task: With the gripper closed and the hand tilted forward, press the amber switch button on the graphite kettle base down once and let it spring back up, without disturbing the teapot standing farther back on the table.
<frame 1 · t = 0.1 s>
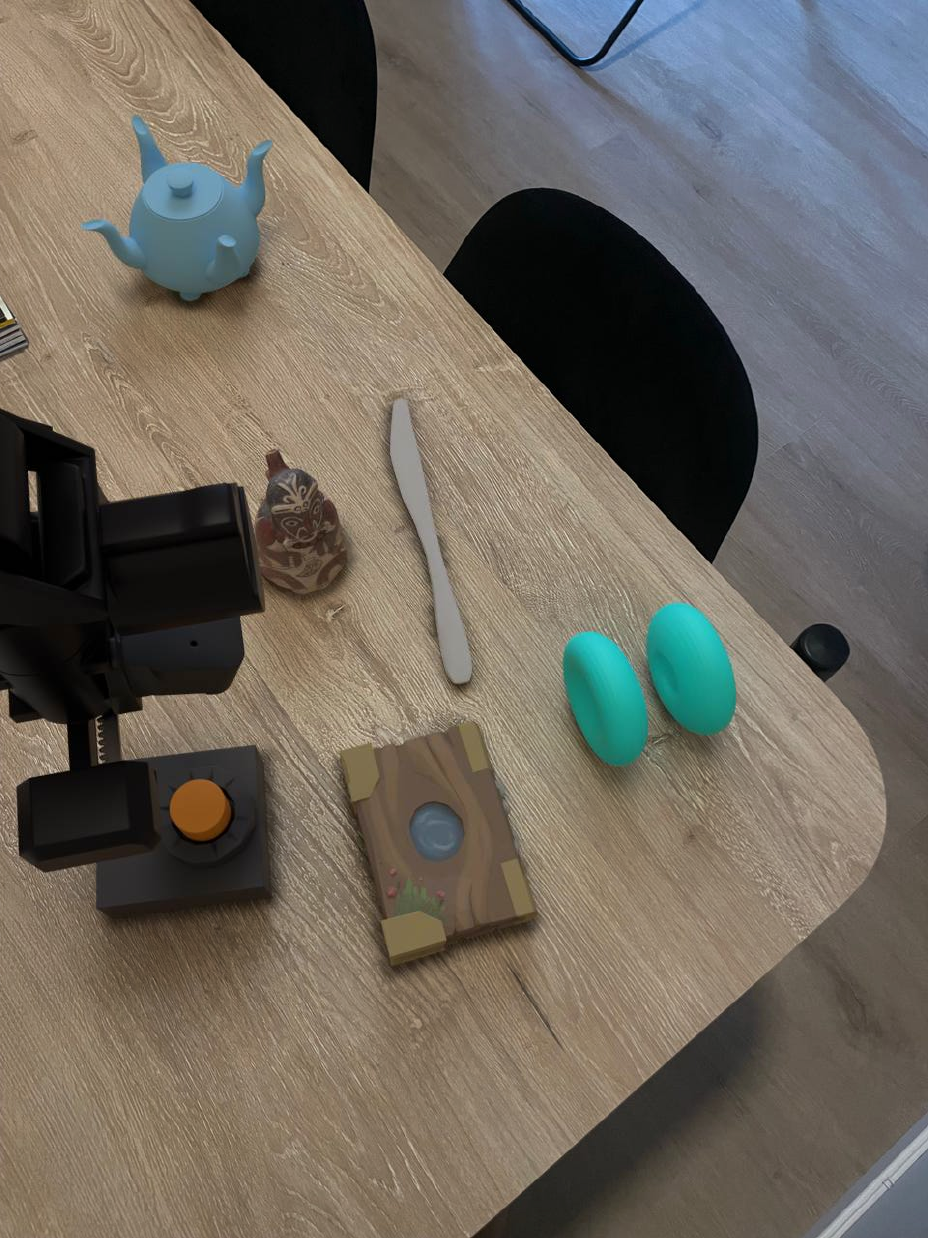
hand: (122, 730, 62), 18 cm above the table, tool pointing down, fingers open, 9 cm apart
teapot: (200, 265, 99), on the table
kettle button: (200, 810, 71), point 7 cm above the table, slide at 0.1 cm
donuts: (634, 708, 83), on the table
butter knife: (424, 535, 88), on the table
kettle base: (190, 838, 77), on the table
book: (439, 843, 78), on the table
figurine: (302, 555, 87), on the table
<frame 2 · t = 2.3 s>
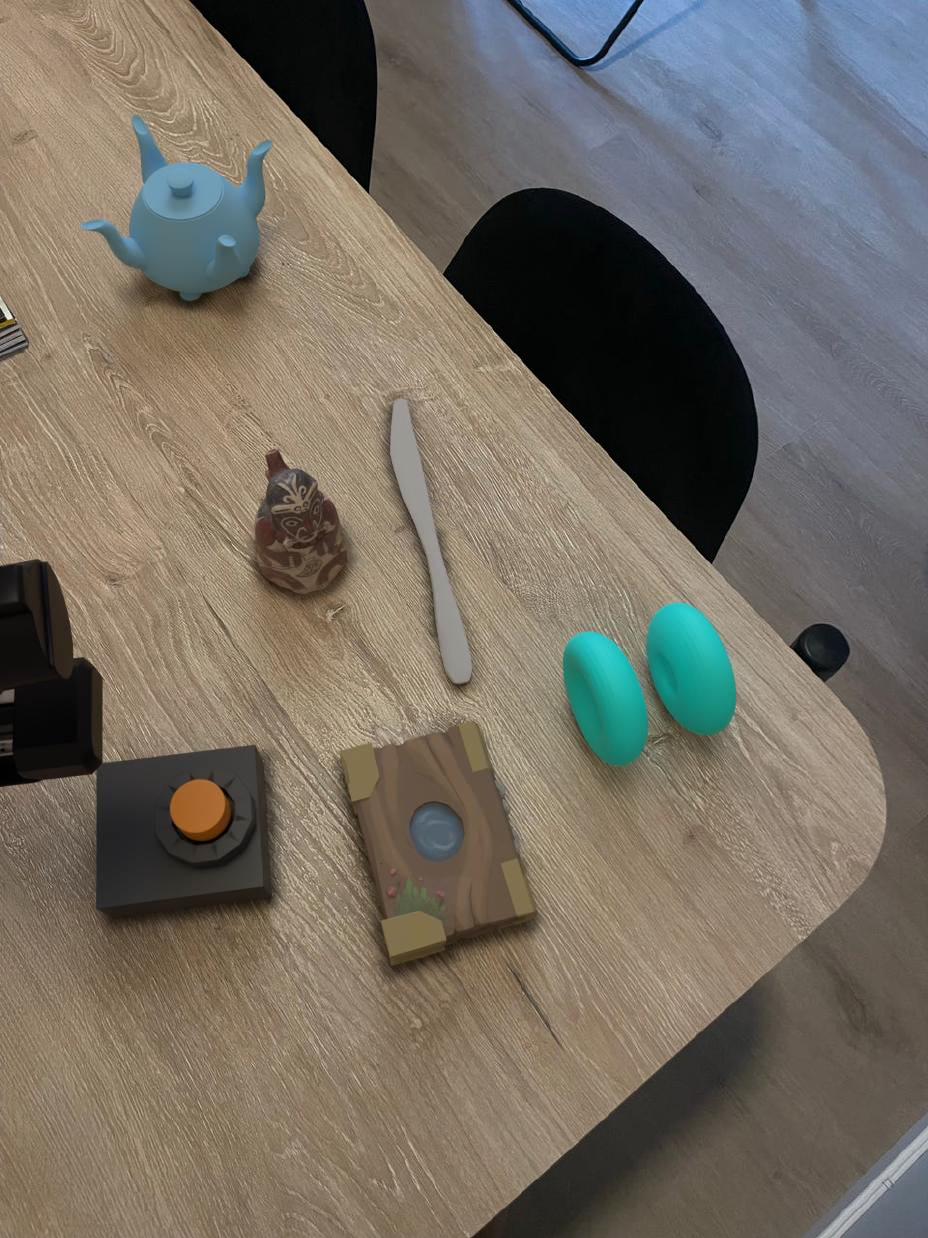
nothing on the table moved.
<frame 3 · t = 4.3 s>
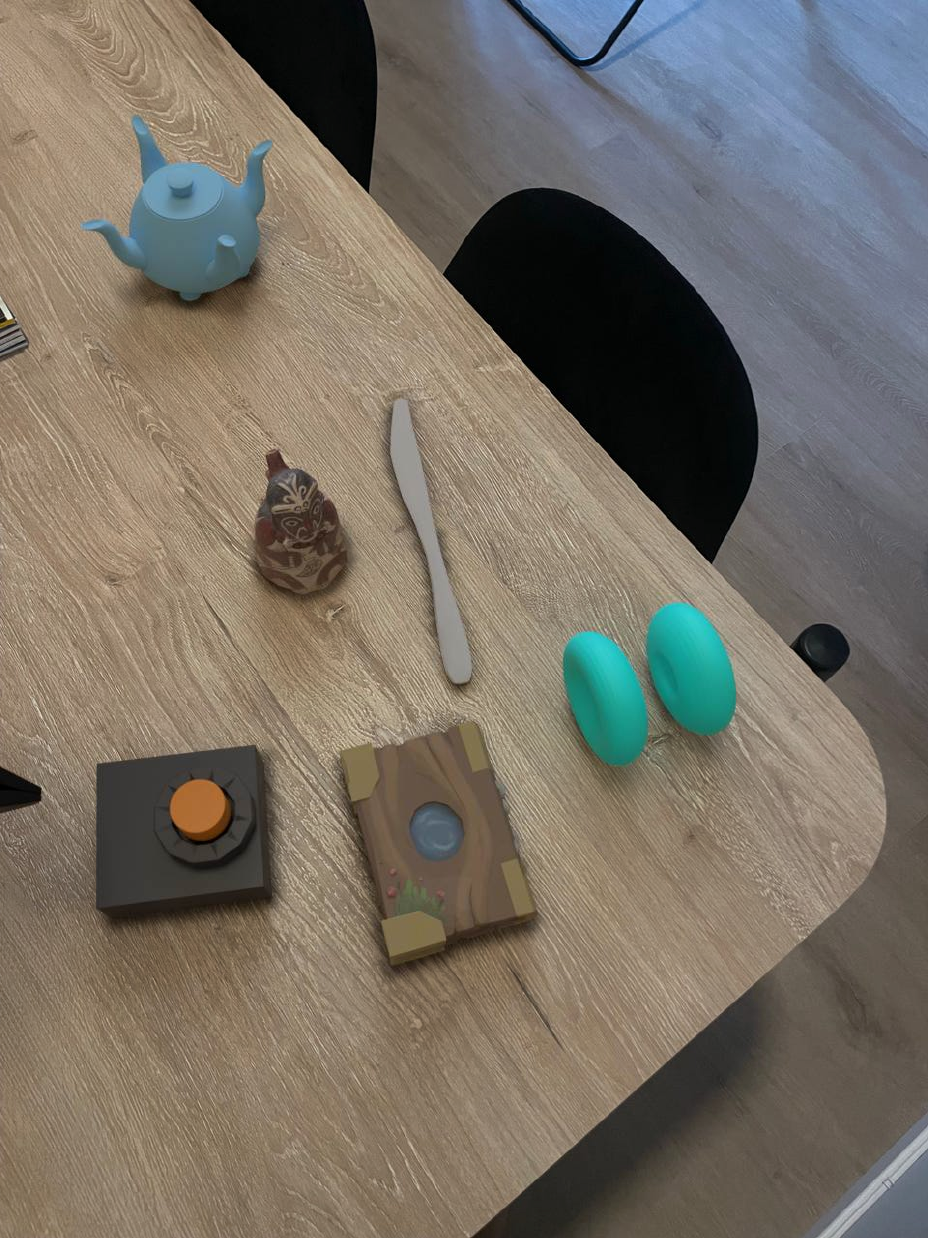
hand: (38, 796, 64), 13 cm above the table, tool tilted 45°, fingers closed
nothing on the table moved.
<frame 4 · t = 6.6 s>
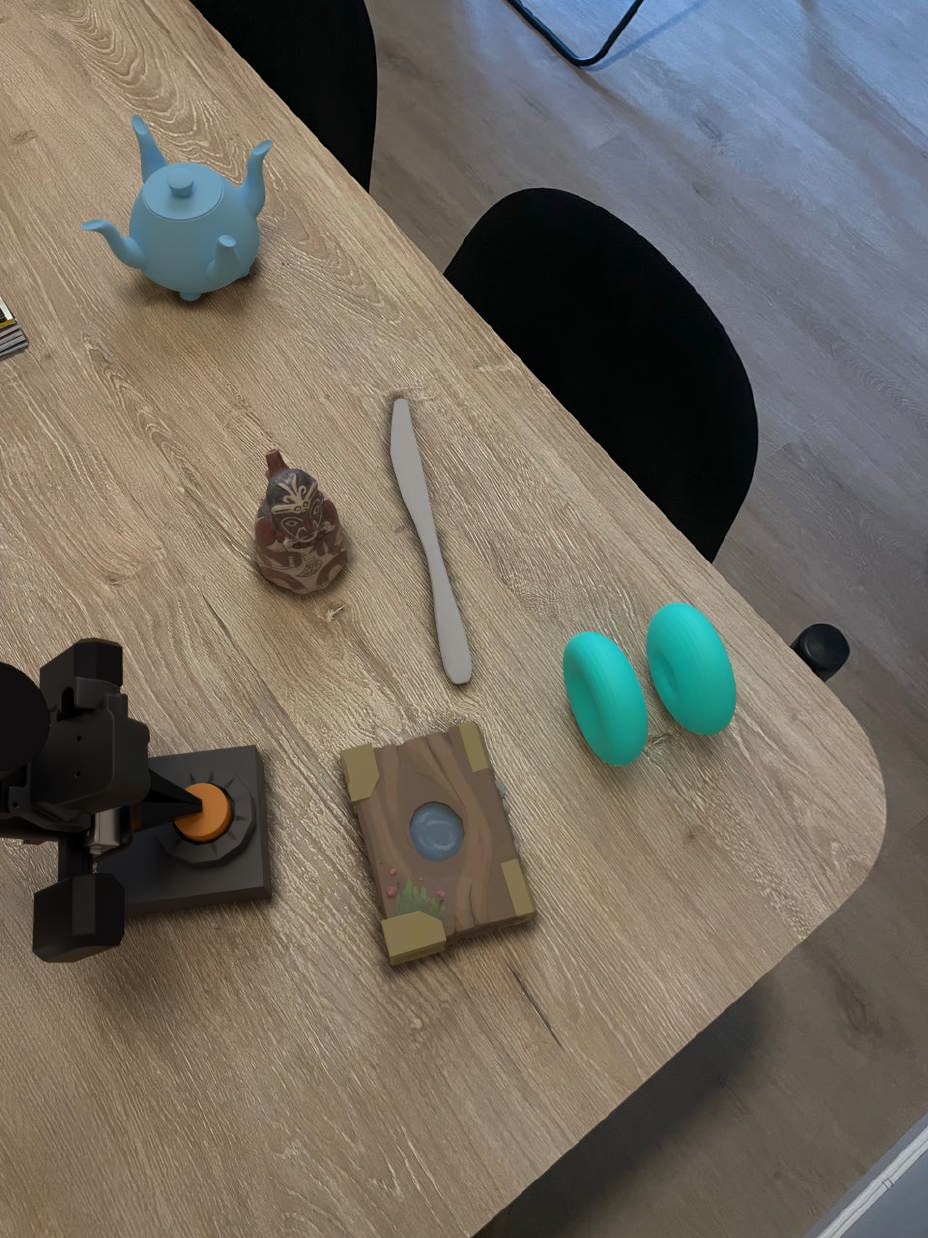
hand: (199, 808, 71), 7 cm above the table, tool tilted 45°, fingers closed, pressing on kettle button
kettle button: (203, 813, 72), point 6 cm above the table, slide at -0.8 cm, touching gripper
everything else where it was.
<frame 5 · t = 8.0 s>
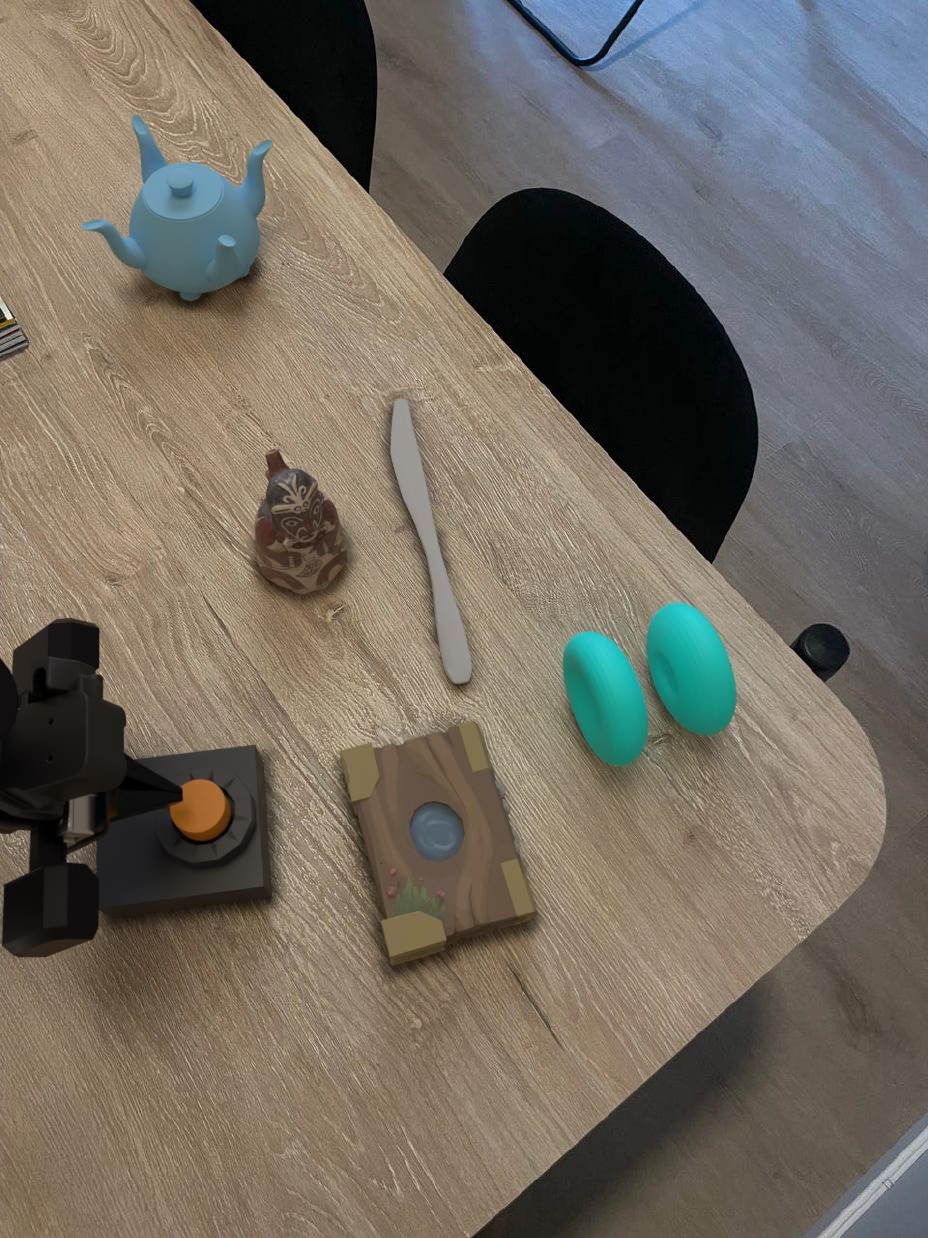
hand: (179, 797, 68), 10 cm above the table, tool tilted 45°, fingers closed
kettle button: (200, 810, 71), point 7 cm above the table, slide at 0.1 cm
everything else where it was.
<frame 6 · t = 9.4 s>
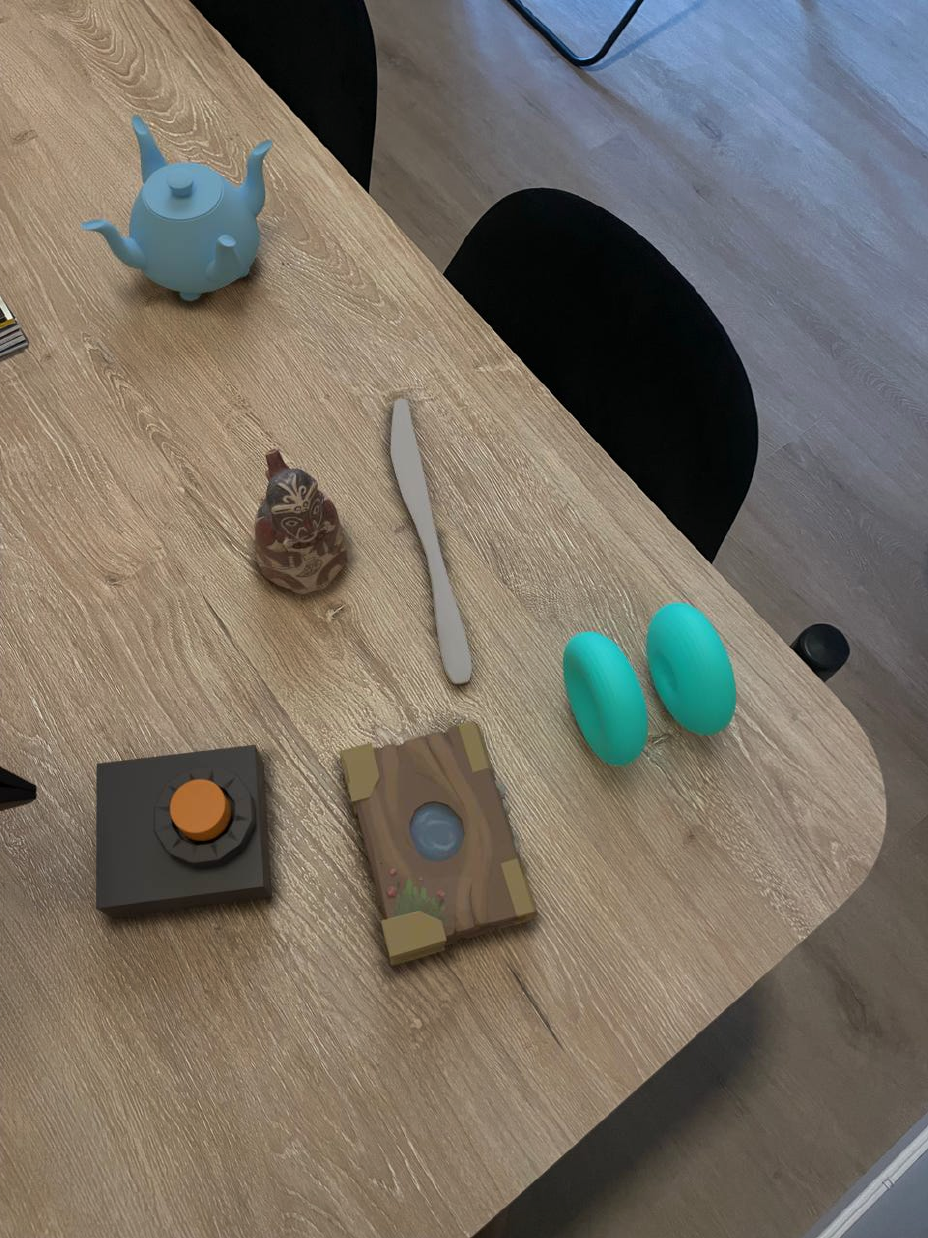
hand: (33, 794, 64), 14 cm above the table, tool tilted 45°, fingers closed
nothing on the table moved.
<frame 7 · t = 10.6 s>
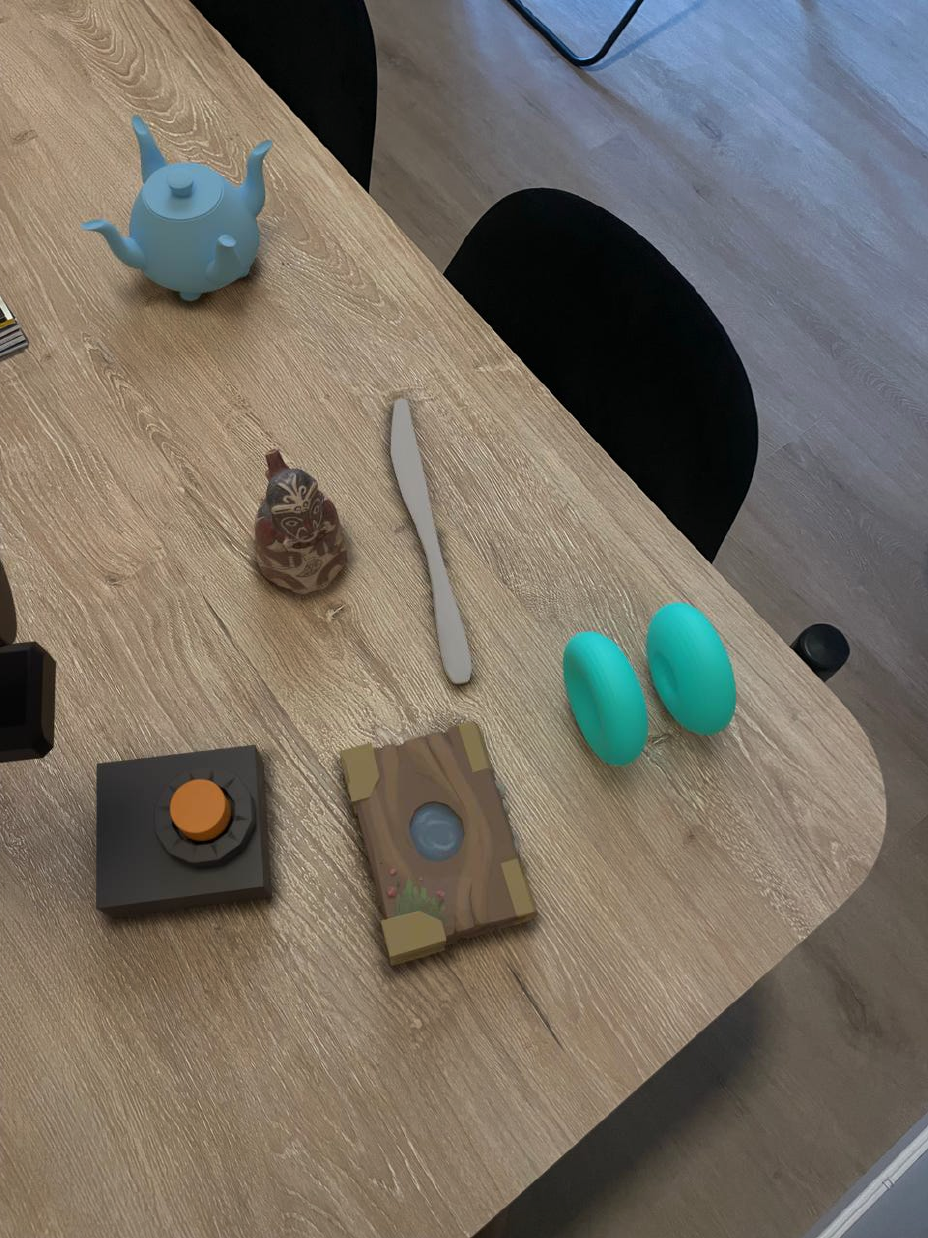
nothing on the table moved.
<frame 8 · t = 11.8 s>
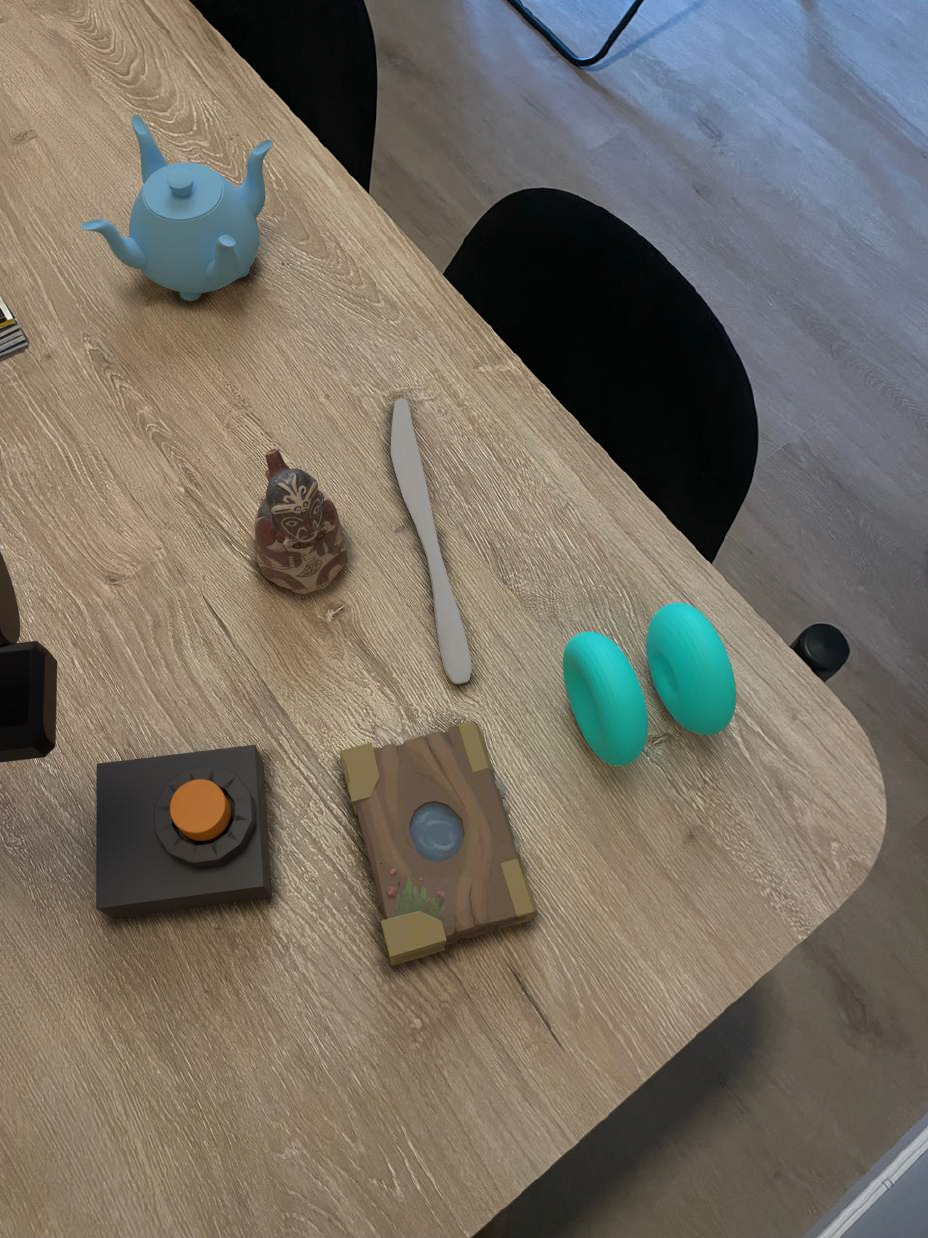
nothing on the table moved.
at the end: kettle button pushed in 1.3 cm at the most during the clip, back to where it started at the end; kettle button slide at 0.1 cm; teapot moved 0.2 cm from its start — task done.
